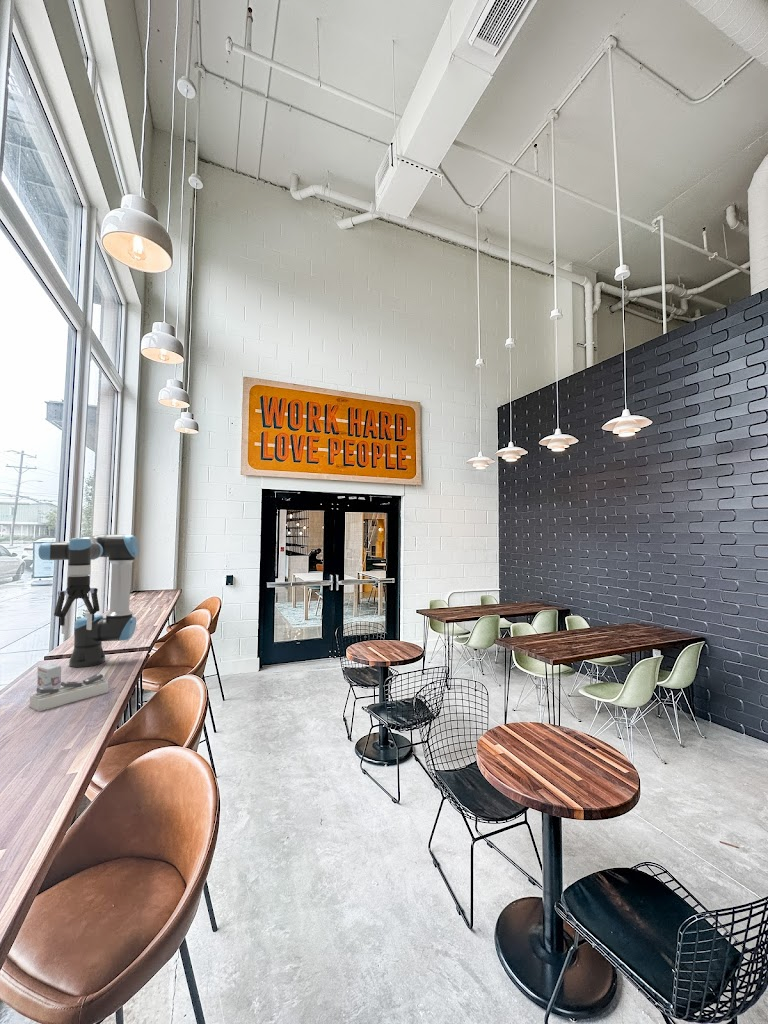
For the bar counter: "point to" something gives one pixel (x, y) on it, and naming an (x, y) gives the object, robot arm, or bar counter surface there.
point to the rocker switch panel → (67, 695)
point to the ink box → (49, 676)
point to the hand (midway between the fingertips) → (76, 631)
